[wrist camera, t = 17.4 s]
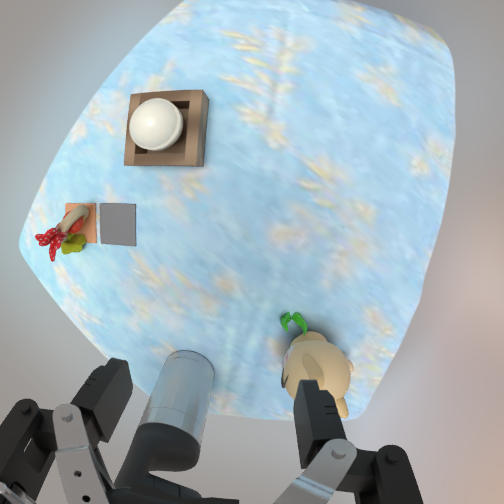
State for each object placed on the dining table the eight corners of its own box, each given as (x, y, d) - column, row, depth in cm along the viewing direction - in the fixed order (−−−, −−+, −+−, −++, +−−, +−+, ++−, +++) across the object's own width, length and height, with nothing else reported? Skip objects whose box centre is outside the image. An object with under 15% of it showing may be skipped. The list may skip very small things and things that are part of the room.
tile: (96, 242, 41) (96, 243, 41) (68, 240, 41) (67, 240, 41) (95, 203, 39) (94, 203, 39) (66, 203, 39) (65, 203, 39)
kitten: (256, 327, 44) (257, 390, 30) (309, 294, 43) (332, 349, 28) (302, 381, 48) (314, 442, 33) (349, 354, 46) (376, 412, 32)
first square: (136, 245, 41) (135, 246, 41) (101, 243, 41) (100, 243, 41) (135, 204, 39) (135, 204, 39) (100, 203, 39) (99, 203, 39)
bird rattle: (82, 199, 41) (51, 239, 39) (58, 182, 30) (21, 233, 28) (105, 222, 42) (73, 263, 40) (85, 210, 31) (46, 263, 29)
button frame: (203, 166, 38) (196, 165, 33) (138, 166, 38) (124, 165, 33) (208, 99, 35) (202, 89, 30) (144, 102, 35) (130, 94, 30)
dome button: (186, 152, 34) (170, 147, 27) (142, 152, 34) (117, 148, 27) (190, 106, 33) (176, 91, 26) (146, 108, 33) (123, 95, 25)
